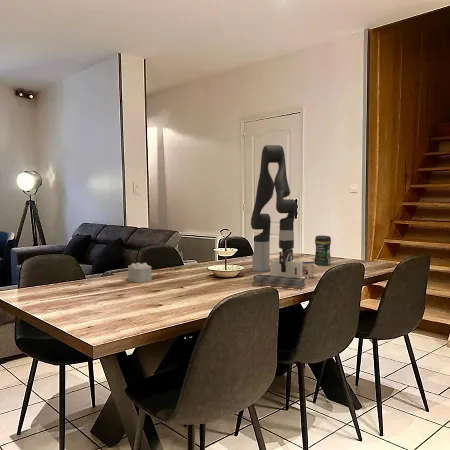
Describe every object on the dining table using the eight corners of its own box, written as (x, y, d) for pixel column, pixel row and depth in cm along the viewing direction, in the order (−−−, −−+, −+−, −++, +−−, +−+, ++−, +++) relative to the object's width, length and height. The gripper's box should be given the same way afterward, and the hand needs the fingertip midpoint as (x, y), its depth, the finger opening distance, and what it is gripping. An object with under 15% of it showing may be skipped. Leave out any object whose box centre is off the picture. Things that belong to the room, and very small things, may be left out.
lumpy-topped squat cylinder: (137, 283, 227) (136, 266, 227) (123, 279, 237) (123, 263, 236) (154, 280, 235) (153, 263, 234) (140, 276, 244) (140, 261, 243)
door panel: (270, 281, 230) (270, 260, 229) (272, 280, 232) (272, 259, 231) (300, 284, 222) (300, 262, 222) (302, 283, 225) (302, 261, 224)
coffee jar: (312, 264, 281) (312, 235, 280) (319, 263, 287) (319, 234, 285) (326, 266, 274) (326, 236, 273) (332, 265, 280) (333, 235, 279)
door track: (252, 285, 219) (252, 276, 219) (259, 282, 227) (259, 273, 227) (299, 290, 208) (299, 281, 208) (305, 286, 216) (305, 277, 216)
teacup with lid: (293, 277, 241) (293, 255, 241) (302, 274, 248) (302, 253, 247) (313, 279, 234) (313, 257, 233) (321, 277, 240) (322, 255, 240)
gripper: (284, 237, 234) (283, 268, 235) (274, 240, 221) (274, 272, 222) (297, 238, 231) (297, 269, 232) (289, 240, 218) (288, 273, 219)
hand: (286, 270), depth 227 cm, fingers open, 8 cm apart
